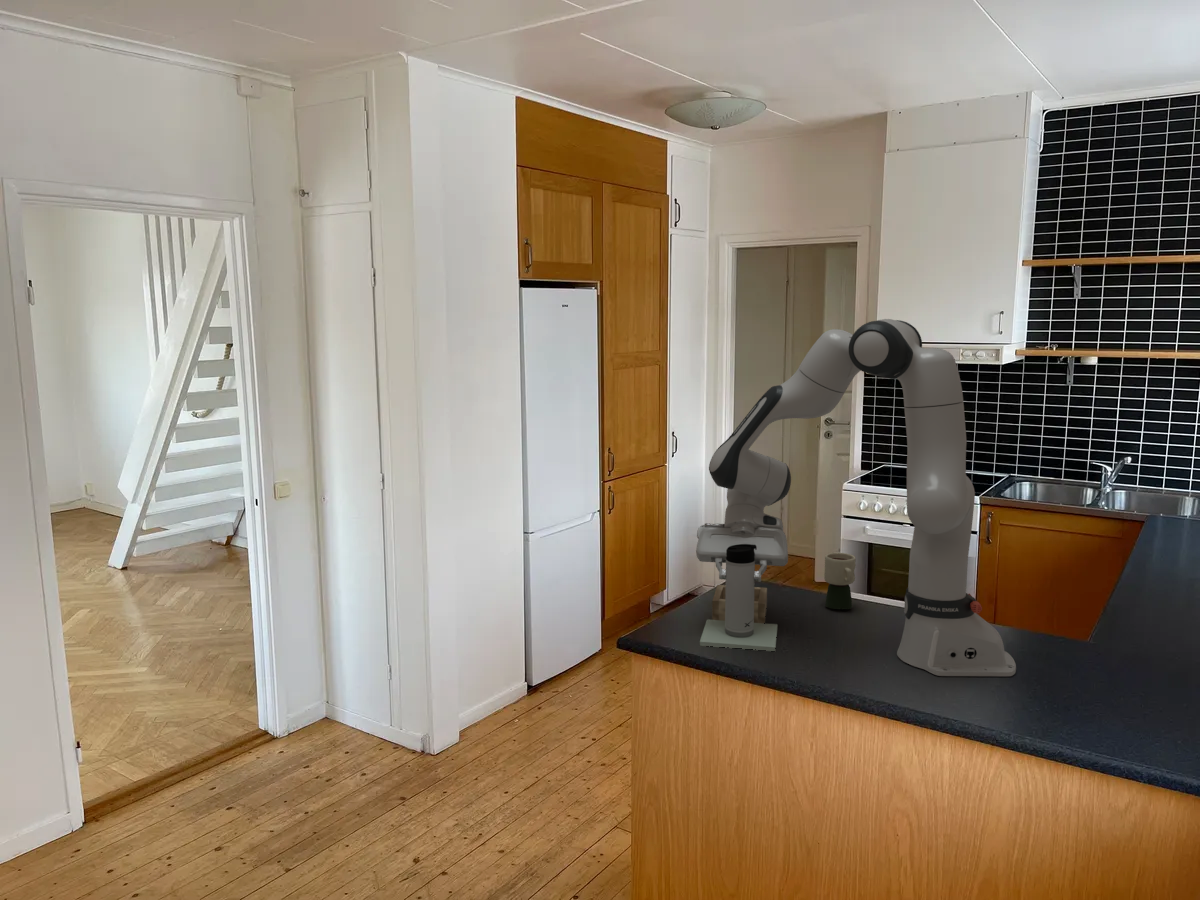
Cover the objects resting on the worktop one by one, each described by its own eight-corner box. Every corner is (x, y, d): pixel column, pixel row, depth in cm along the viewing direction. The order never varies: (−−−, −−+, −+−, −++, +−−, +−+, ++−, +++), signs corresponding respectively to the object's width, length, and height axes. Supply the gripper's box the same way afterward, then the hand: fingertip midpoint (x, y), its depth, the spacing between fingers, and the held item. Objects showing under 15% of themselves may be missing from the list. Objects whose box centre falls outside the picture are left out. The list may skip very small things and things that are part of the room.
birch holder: (766, 607, 212) (767, 587, 211) (764, 624, 200) (764, 603, 200) (717, 604, 215) (717, 584, 214) (712, 620, 203) (712, 600, 202)
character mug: (862, 614, 206) (864, 561, 204) (834, 616, 205) (836, 563, 203) (842, 600, 217) (844, 549, 215) (815, 602, 216) (816, 551, 214)
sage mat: (777, 628, 198) (777, 624, 198) (775, 651, 184) (775, 647, 184) (706, 623, 201) (706, 619, 201) (699, 646, 188) (699, 641, 188)
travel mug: (755, 638, 189) (756, 549, 186) (724, 637, 190) (725, 548, 187) (755, 628, 195) (756, 541, 192) (725, 626, 196) (726, 540, 193)
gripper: (697, 515, 198) (691, 569, 190) (789, 519, 193) (787, 575, 185) (699, 530, 203) (693, 583, 195) (789, 534, 198) (787, 588, 190)
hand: (740, 579), depth 190 cm, fingers closed on travel mug, 6 cm apart
